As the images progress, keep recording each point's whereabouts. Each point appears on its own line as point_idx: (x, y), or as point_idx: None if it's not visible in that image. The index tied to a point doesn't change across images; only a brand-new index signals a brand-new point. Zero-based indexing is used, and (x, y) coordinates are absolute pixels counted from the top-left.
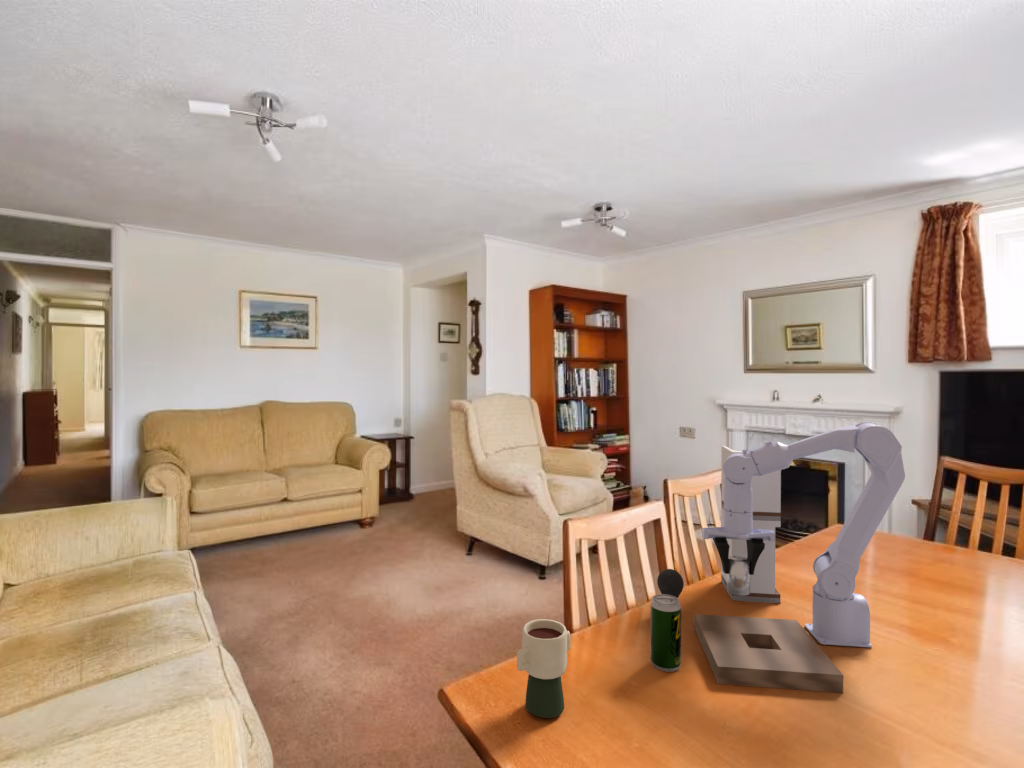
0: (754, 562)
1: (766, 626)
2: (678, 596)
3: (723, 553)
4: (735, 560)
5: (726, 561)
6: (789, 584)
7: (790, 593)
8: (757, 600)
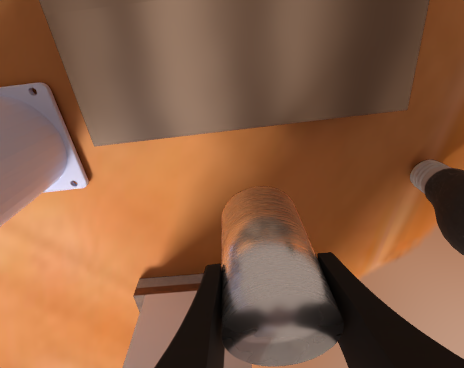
0: (198, 313)
1: (189, 70)
2: (442, 187)
3: (418, 340)
4: (307, 312)
5: (360, 296)
6: (116, 352)
7: (116, 321)
8: (187, 277)
